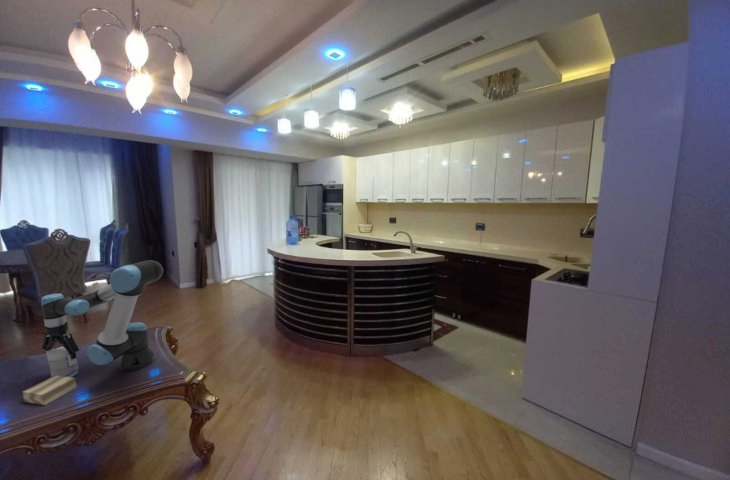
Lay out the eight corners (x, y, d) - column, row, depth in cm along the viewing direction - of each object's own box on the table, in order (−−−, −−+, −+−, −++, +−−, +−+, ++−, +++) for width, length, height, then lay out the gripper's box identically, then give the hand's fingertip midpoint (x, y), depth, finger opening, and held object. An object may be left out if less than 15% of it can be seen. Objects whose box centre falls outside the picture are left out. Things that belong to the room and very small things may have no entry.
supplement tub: (75, 377, 143) (70, 351, 141) (48, 384, 138) (43, 357, 136) (81, 368, 151) (76, 343, 149) (56, 374, 146) (51, 348, 144)
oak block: (76, 387, 136) (75, 377, 135) (45, 404, 124) (43, 394, 123) (57, 384, 138) (55, 375, 137) (24, 401, 126) (22, 391, 125)
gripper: (85, 323, 142) (90, 361, 145) (46, 319, 146) (52, 356, 149) (67, 330, 134) (73, 370, 138) (27, 325, 139) (34, 364, 142)
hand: (62, 363), depth 143 cm, fingers open, 13 cm apart
